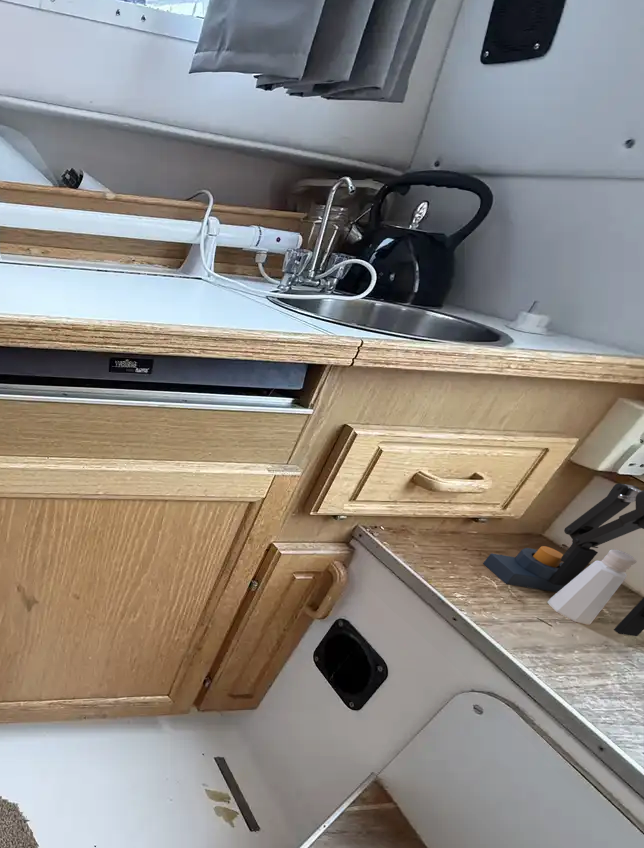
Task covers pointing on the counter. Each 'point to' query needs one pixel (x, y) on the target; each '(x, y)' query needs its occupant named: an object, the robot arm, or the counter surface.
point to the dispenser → (523, 570)
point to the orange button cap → (548, 556)
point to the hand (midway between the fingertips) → (590, 607)
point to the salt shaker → (592, 588)
